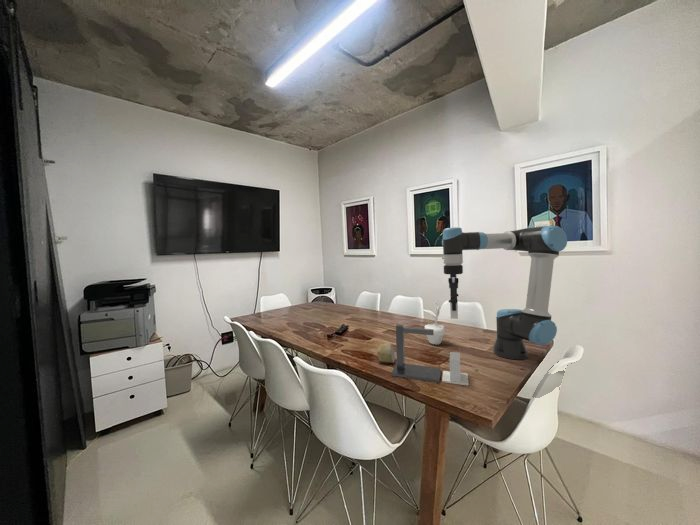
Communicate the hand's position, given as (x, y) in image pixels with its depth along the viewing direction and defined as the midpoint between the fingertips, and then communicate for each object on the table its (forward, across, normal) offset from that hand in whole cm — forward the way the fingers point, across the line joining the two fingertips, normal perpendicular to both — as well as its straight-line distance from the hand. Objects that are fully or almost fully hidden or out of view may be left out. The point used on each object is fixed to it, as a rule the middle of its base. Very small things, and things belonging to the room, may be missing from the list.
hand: (454, 314), depth 115 cm
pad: (+27, +1, 0) cm, 27 cm away
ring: (+26, +1, 0) cm, 26 cm away
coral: (+27, -8, -32) cm, 43 cm away
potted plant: (+27, -43, -12) cm, 52 cm away
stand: (+27, +1, -16) cm, 31 cm away
